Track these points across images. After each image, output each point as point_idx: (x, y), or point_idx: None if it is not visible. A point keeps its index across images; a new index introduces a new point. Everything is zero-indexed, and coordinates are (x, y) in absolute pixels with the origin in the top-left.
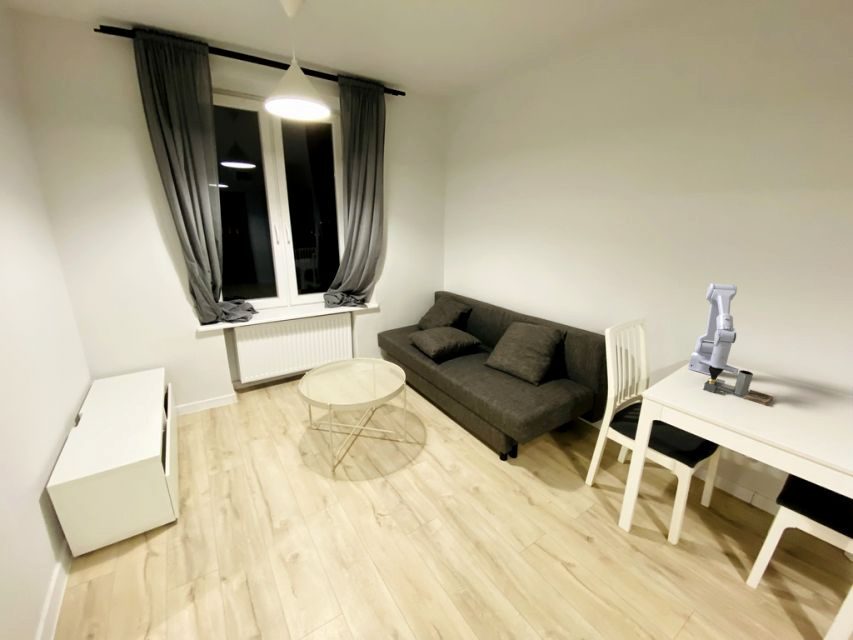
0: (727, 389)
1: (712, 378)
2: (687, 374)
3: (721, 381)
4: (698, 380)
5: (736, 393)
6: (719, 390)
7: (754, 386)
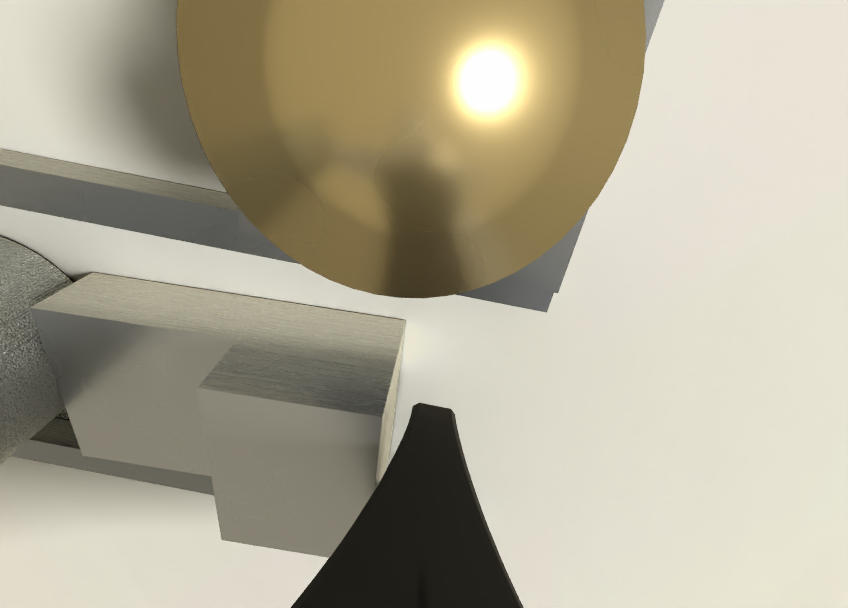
0: (158, 304)
1: (427, 282)
2: (792, 568)
3: (260, 474)
4: (646, 450)
5: (12, 251)
6: None
7: (60, 602)
